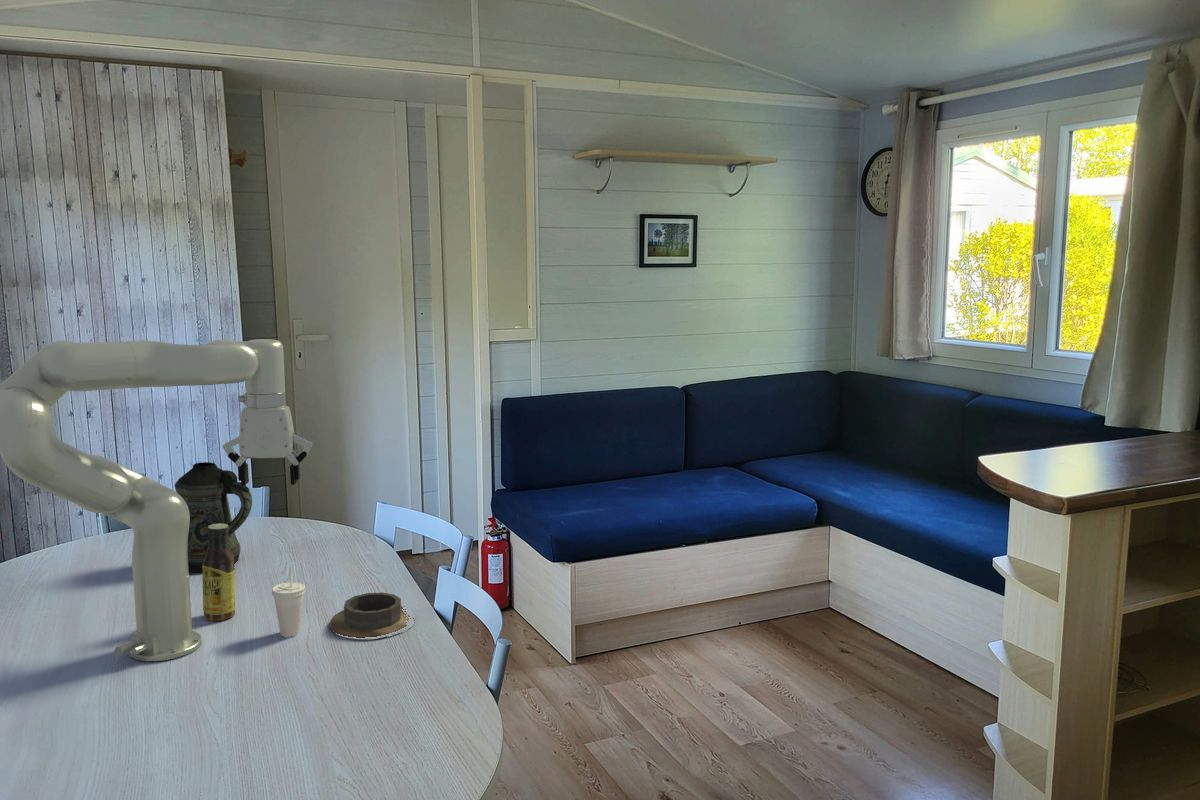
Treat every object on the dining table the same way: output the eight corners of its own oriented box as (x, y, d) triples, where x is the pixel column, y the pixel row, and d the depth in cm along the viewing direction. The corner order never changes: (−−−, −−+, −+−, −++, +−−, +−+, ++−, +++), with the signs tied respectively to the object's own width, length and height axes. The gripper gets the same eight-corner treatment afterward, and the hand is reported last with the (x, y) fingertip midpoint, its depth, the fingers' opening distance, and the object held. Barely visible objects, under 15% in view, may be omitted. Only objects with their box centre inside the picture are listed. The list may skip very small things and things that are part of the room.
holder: (383, 645, 174) (383, 623, 173) (312, 631, 180) (312, 610, 179) (430, 615, 190) (430, 594, 189) (363, 603, 196) (363, 583, 195)
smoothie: (300, 640, 176) (298, 572, 174) (268, 639, 176) (265, 571, 174) (311, 627, 182) (309, 561, 180) (280, 626, 182) (277, 561, 180)
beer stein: (168, 556, 224) (163, 459, 220) (251, 548, 232) (247, 454, 228) (167, 577, 209) (161, 474, 205) (256, 567, 217) (251, 467, 214)
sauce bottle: (197, 619, 185) (192, 526, 182) (222, 609, 191) (217, 519, 188) (218, 625, 182) (214, 531, 179) (243, 615, 188) (239, 524, 185)
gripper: (215, 404, 174) (220, 489, 177) (306, 403, 177) (309, 487, 179) (226, 398, 182) (230, 480, 184) (313, 397, 184) (316, 478, 187)
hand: (269, 483), depth 182 cm, fingers open, 9 cm apart
